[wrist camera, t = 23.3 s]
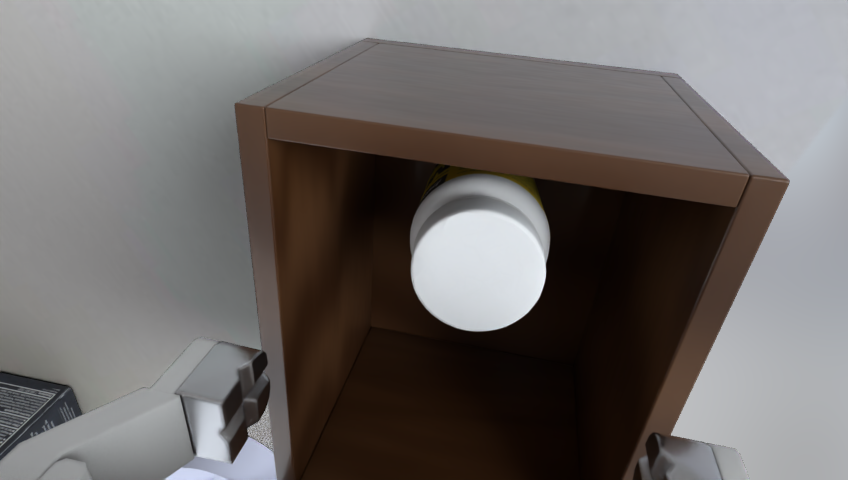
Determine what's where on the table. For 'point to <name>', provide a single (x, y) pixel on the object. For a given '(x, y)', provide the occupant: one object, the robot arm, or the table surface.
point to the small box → (31, 409)
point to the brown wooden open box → (565, 267)
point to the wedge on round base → (232, 466)
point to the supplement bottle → (479, 247)
